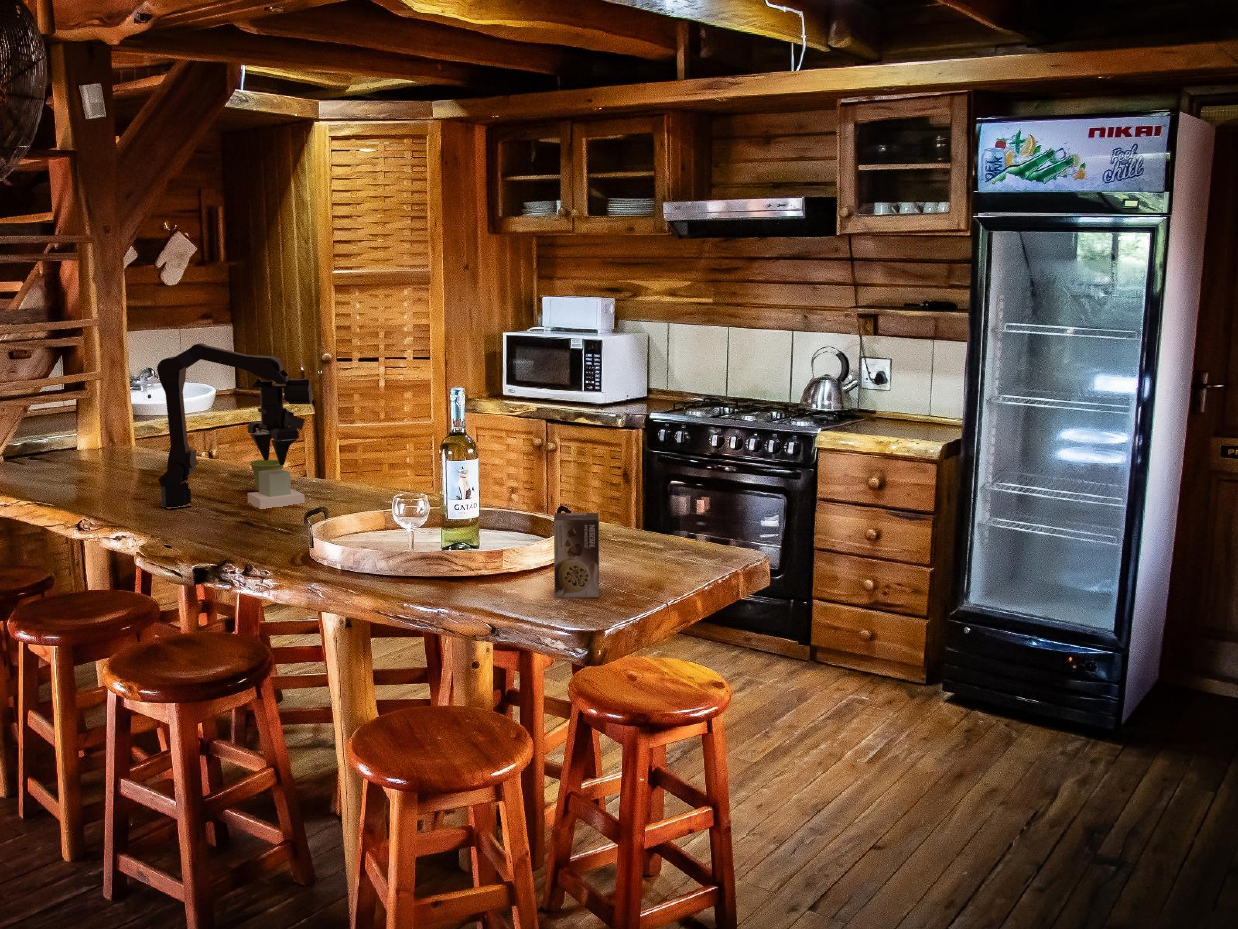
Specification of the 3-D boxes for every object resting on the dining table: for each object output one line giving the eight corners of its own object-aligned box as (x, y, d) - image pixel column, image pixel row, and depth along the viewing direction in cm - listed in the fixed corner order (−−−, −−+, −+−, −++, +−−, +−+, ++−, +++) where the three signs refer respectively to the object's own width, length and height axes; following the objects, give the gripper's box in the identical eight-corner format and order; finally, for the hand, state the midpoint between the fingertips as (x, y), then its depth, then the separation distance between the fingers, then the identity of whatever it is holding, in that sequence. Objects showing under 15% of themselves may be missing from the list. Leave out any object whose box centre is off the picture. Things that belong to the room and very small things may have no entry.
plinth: (260, 514, 311) (260, 499, 311) (248, 507, 319) (247, 492, 319) (304, 509, 318) (304, 494, 318) (291, 502, 326) (291, 488, 326)
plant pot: (292, 491, 340) (291, 461, 338) (266, 496, 332) (265, 466, 330) (269, 488, 344) (268, 458, 343) (243, 493, 337) (242, 462, 335)
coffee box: (598, 589, 243) (599, 512, 241) (599, 598, 237) (600, 519, 234) (553, 589, 243) (554, 511, 240) (553, 598, 237) (553, 518, 234)
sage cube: (270, 496, 314) (269, 474, 313) (259, 493, 318) (258, 471, 317) (290, 493, 318) (290, 471, 317) (279, 490, 322) (279, 468, 321)
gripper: (316, 405, 313) (318, 464, 316) (284, 399, 327) (286, 455, 329) (277, 408, 306) (279, 468, 308) (245, 401, 319) (247, 459, 322)
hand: (274, 462), depth 317 cm, fingers open, 9 cm apart
